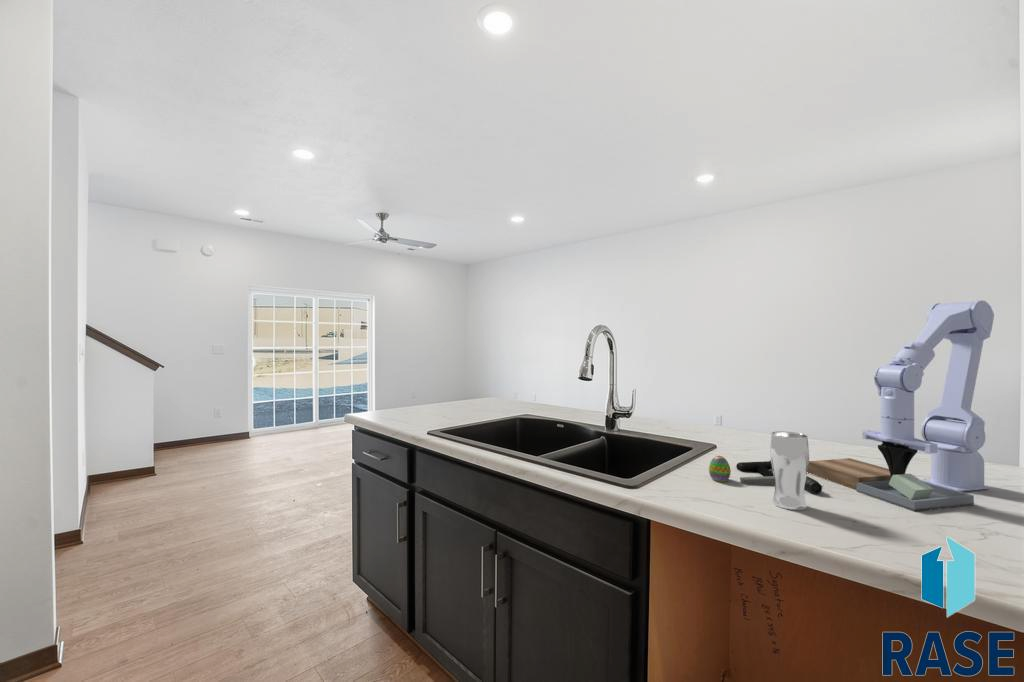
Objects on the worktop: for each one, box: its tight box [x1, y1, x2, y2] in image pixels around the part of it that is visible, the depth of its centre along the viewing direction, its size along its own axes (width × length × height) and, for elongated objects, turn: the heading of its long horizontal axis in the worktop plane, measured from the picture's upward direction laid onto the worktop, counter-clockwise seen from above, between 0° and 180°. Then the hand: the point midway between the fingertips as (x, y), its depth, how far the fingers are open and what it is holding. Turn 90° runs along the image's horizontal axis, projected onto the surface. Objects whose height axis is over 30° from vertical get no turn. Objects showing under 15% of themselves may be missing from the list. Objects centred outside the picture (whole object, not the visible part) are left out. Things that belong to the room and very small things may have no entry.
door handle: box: [735, 459, 823, 494], centre depth 109 cm, size 3×20×16 cm
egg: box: [708, 455, 731, 483], centre depth 109 cm, size 5×5×6 cm
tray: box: [856, 480, 975, 512], centre depth 97 cm, size 16×12×2 cm
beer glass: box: [769, 430, 810, 512], centre depth 92 cm, size 7×7×15 cm
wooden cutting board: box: [807, 457, 907, 491], centre depth 110 cm, size 14×14×3 cm
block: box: [889, 473, 934, 500], centre depth 97 cm, size 5×5×2 cm
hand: (897, 477), depth 100 cm, fingers closed
